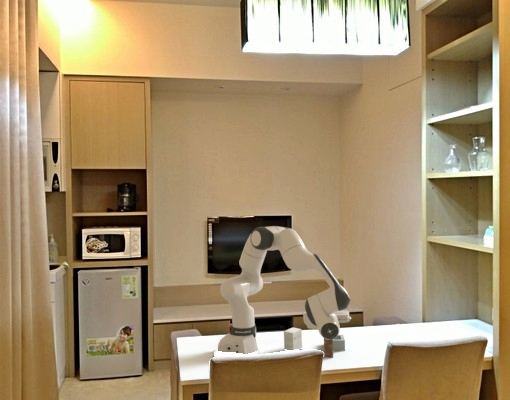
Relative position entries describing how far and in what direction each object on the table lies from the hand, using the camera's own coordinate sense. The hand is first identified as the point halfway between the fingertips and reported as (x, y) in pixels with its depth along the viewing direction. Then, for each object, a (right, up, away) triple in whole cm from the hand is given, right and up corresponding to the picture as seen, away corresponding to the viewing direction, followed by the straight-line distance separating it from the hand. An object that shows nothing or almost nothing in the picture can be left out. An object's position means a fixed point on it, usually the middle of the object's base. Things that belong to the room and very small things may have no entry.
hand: (325, 312), depth 210 cm
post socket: (+9, -23, +23) cm, 34 cm away
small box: (-13, -24, +20) cm, 34 cm away
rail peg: (+3, -24, +11) cm, 27 cm away
